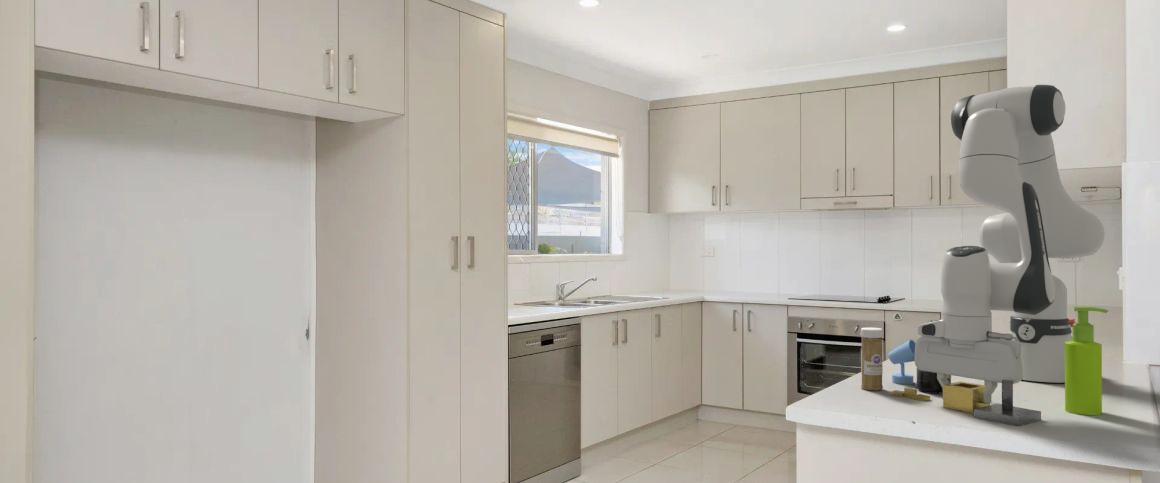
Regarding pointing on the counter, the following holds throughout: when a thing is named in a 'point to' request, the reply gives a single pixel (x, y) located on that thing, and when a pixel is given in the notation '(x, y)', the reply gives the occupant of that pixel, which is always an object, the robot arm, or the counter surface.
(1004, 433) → the counter surface
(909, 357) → the spotlight
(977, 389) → the end link
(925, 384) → the supplement bottle
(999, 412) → the grey peg stand
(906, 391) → the tan barbell toy
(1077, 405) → the soap dispenser
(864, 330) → the sprinkles bottle
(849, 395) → the counter surface
